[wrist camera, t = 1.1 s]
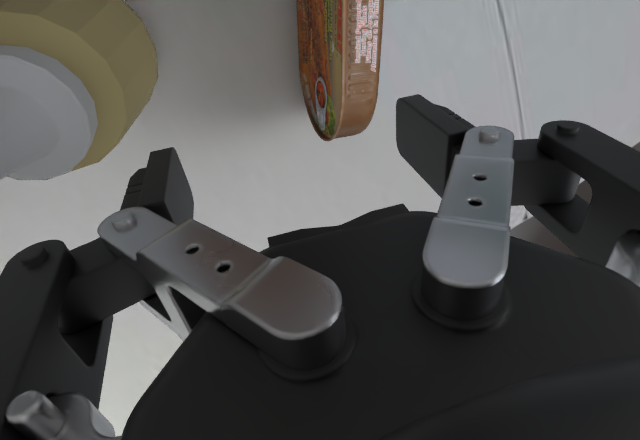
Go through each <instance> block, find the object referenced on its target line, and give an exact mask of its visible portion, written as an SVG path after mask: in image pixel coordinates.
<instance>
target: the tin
mask: <svg viewBox="0 0 640 440" xmlns="http://www.w3.org/2000/svg"><path fill="white" fill-rule="evenodd" d="M383 8H384V0H297V17H298V41H299V62H300V76H301V84H302V90H303V96H304V101H305V105H306V108H307V112H308V115H309V118H310V120H311V123H312V125H313V127H314V129H315V131H316V133H317V134H318V135H319V136H320V138H321V139H323V140H325V141H330V140H332V139H334V138H340V137H347V136H352V135H356V134H359V133H361V132H362V131H364V130H365V129H366V128H367V126H368V125H369V123H370V121H371V119H372V116H373V114H374V110H375V106H376V102H377V95H378V83H379V70H380V55H381V39H382V25H383Z"/></svg>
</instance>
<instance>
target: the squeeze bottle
mask: <svg viewBox="0 0 640 440" xmlns="http://www.w3.org/2000/svg"><path fill="white" fill-rule="evenodd" d="M157 78H158V69H157V57H156V48H155V46H154V44H153V42H152V40H151V38H150V36H149V34H148V31H147V29H146V27H145V25H144V23H143V21H142V20H141V19H140V18H139V17H138V16H137V14H136V13H135V12H134V11H133V10H132V9H131V8H130V7H129V6H128V5H127V4H126V3H125V2H124V1H123V0H0V179H2V178H4V177H6V176H7V177H10V178H14V179H17V180H48V179H50V178H53V177H56V176H59V175H62V174H65V173H68V172H70V171H73V170H76V169H79V168H82V167H85V166H88V165H91V164H94V163H97V162H99V161H100V160H101V159H103V158H104V157H105V156H106V155H107V154H108V153H109V152H110V151H111V150H112V149H113V148H114V147H115V146H116V145H117V144H118V143H119V142H120V141H121V139H122V138H123V136H124V135H125V134H126V132H127V131H128V129H129V128H130V126H131V125H132V124H133V122H134V121H135V119H136V118H137V117H138V115H139V114H140V112H141V111H142V110H143V108H144V107H145V105H146V104H147V103H148V101H149V100H150V97H151V95H152V92H153V89H154V86H155V84H156V81H157Z"/></svg>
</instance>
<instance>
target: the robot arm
mask: <svg viewBox="0 0 640 440" xmlns="http://www.w3.org/2000/svg"><path fill="white" fill-rule="evenodd" d="M396 141H397V147H398V150H399V153H400V154H401V156H402V157H403V158H404V159H405V160H406V161H407V162H408V163H409V164H410V165H411V166H412V167H413V168H414V170H415V171H416V172H417V173H418V174H419V175H420V176H421V177H422V178H423V179H424V180H425V181H426V182H427V183H428V184H429V185H430V186H431V187H432V189H433V190H434V191H435V192H436V193H437V194H438V195H439V196H440V197H441V198H442V200H441V203H440V207H439V210H438V213H434V212H425V211H410V212H409V211H408V209H407V208H406V207H405V205H404V204H399V205H395V206H391V207H387V208H383V209H379V210H375V211H371V212H369V213H367V214H364V215H362V216H360V217H358V218H356V219H353V220H351V221H349V222H347V223H344V224H342V225H339V226H331V227H319V228H308V229H300V230H296V231H292V232H288V233H284V234H280V235H276V236H272V237H268V243H269V248H267V249H265V250H263V251H261V252H257V251H255V250H253V249H251V248H249V247H247V246H245V245H243V244H241V243H239V242H237V241H235V240H233V239H231V238H229V237H227V236H225V235H223V234H221V233H219V232H217V231H215V230H213V229H211V228H209V227H207V226H205V225H203V224H201V223H199V222H197V221H195V220H193V210H194V201H193V196H192V192H191V189H190V186H189V183H188V181H187V178H186V175H185V173H184V170H183V168H182V165H181V162H180V160H179V157H178V155H177V152H176V150H175V149H174V148H173V147H171V148H167V149H162V150H158V151H153V152H151V153H150V156H149V160H148V164H147V168H142V169H139V170H138V171H137V172H136V173H135V174H134V175H133V176H132V177H131V178H130V180H129V184H128V188H127V190H126V193H125V194H126V195H125V196H124V199H123V203H122V206H121V209H120V211H118V212H116V213H114V214H112V215H110V216H109V217H107V218H106V219H105V220H104V221H102V223H101V224H100V225H99V227H98V234H99V236H100V237H99V238H98V239H96V240H94V241H92V242H89V243H87V244H85V245H82V246H80V247H77V248H75V249H73V250H70V251H69V250H68V248H67V247H66V245H65V244H64V243H63V242H62V241H60V240H47V241H43V242H39V243H36V244H34V245H32V246H29V247H27V248H25V249H24V250H22V251H20V252H19V253H17V254H16V255H15V256H14V257H13V258H11V259H10V261H9V262H8V263H7V264H6V266H5V268H4V270H3V272H2V273H1V275H0V440H640V152H639V151H636V150H635V149H633V148H631V147H629V146H627V145H625V144H623V143H621V142H619V141H617V140H615V139H614V138H612V137H610V136H608V135H606V134H604V133H602V132H600V131H598V130H596V129H594V128H592V127H590V126H588V125H586V124H583V123H580V122H575V121H552V122H548V123H546V124H544V125H543V126H542V127H541V131H540V135H539V139H526V140H514V134H513V133H512V132H511V131H510V130H508V129H505V128H502V127H497V126H479V127H475V126H474V125H472V124H471V123H469V122H467V121H466V120H464V119H463V118H462V119H461V117H460V116H458V115H457V114H455V113H454V112H452V111H451V110H449V109H448V108H446V107H443V106H439V105H436V104H433V103H431V102H430V101H428V100H427V99H425V98H424V97H422V96H421V95H419V94H417V95H413V96H408V97H403V98H399V99H398V100H397V104H396ZM581 177H582V178H583V179H585V180H586V181H587V182H588V183H589V184H590V186H591V188H592V194H593V195H592V199H591V202H590V204H589V203H587V202H586V201H585V200H583V199H582V198H581V197H579V196H578V195H577V194H575V193H576V190H577V187H578V184H579V181H580V178H581ZM517 205H524V207H525V208H526V209H527V210H528V211H529V212H530V213H531V214H532V215H533V216H534V217H535V218H537V220H539V221H540V222H541V223H542V224H543V225H544V226H545V227H546V228H547V229H549V230H550V231H551V232H552V233H553V234H554V235H555V236H556V237H557V238H558V239H559V240H561V241H562V242H563V243H564V244H565V245H566V246H567V247H568V248H569V249H570V250H572V251H573V252H574V253H575V254H576V255H577V256H578V257H579V258H577V257H574V256H571V255H568V254H565V253H562V252H559V251H556V250H552V249H549V248H546V247H543V246H540V245H537V244H534V243H531V242H528V241H525V240H521V239H518V238H515V237H512V236H510V227H509V221H510V209H511V206H517ZM137 302H140V304H141V305H142V306H143V307H145V308H146V309H147V310H148V311H149V312H151V313H152V314H153V315H154V316H156V317H157V318H158V319H159V320H160V321H162V322H163V323H164V324H165V325H167V326H168V327H169V328H170V329H171V330H173V331H174V332H175V333H176V334H177V335H178V336H179V337H180V338H181V339H182V341H183V343H182V344H181V346H180V347H179V348H178V349H177V351H176V352H175V353H174V355H173V356H172V357H171V359H170V360H169V361H168V363H167V364H166V365H165V367H164V368H163V369H162V371H161V372H160V373H159V374H158V376H157V377H156V378H155V380H154V381H153V382H152V384H151V385H150V386H149V388H148V389H147V390H146V392H145V393H144V394H143V396H142V397H141V398H140V400H139V401H138V403H137V404H136V406H135V407H134V409H133V411H132V413H131V415H130V416H129V418H128V420H127V423H126V425H125V428H124V430H123V433H122V436H117V437H115V431H114V428H113V426H112V424H111V423H110V422H109V421H108V420H107V419H106V418H105V417H104V416H103V415H102V414H101V413H100V411H99V410H98V408H99V402H100V396H101V390H102V383H103V377H104V371H105V365H106V359H107V353H108V346H109V340H110V334H111V328H112V322H113V314H115V313H117V312H119V311H121V310H123V309H125V308H127V307H129V306H131V305H133V304H135V303H137Z"/></svg>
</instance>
